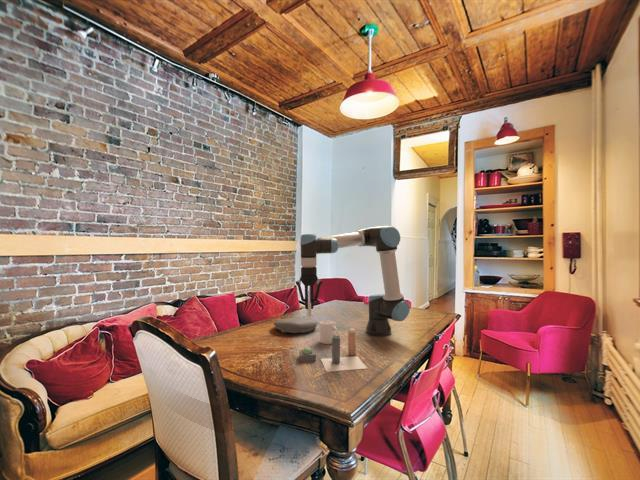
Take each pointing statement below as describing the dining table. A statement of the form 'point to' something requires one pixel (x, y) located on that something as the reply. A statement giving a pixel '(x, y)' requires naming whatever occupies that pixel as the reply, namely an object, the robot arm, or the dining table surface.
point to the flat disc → (296, 325)
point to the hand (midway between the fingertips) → (309, 315)
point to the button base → (307, 356)
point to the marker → (336, 349)
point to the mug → (327, 331)
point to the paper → (343, 364)
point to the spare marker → (351, 342)
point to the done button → (307, 351)
